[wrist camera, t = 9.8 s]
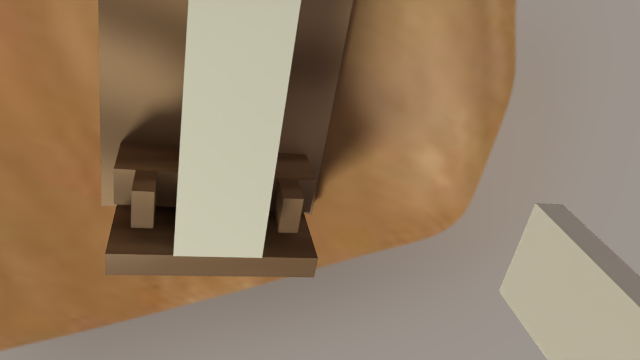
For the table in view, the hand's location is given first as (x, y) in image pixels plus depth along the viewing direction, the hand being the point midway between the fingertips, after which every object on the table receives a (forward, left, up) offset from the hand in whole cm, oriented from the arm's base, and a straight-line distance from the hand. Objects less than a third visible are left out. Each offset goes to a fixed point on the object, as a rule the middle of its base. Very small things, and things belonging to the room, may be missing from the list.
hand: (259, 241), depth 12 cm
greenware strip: (0, 0, -15) cm, 15 cm away
